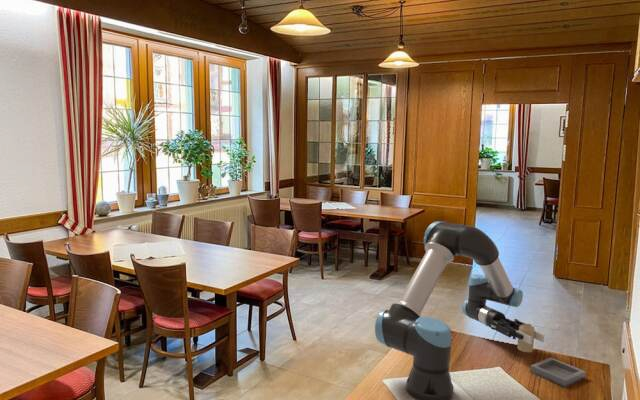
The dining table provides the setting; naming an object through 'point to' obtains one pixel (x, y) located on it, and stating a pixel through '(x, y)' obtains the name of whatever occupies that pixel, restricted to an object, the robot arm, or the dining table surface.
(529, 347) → the candle
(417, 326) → the robot arm
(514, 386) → the dining table surface
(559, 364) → the charcoal dish
